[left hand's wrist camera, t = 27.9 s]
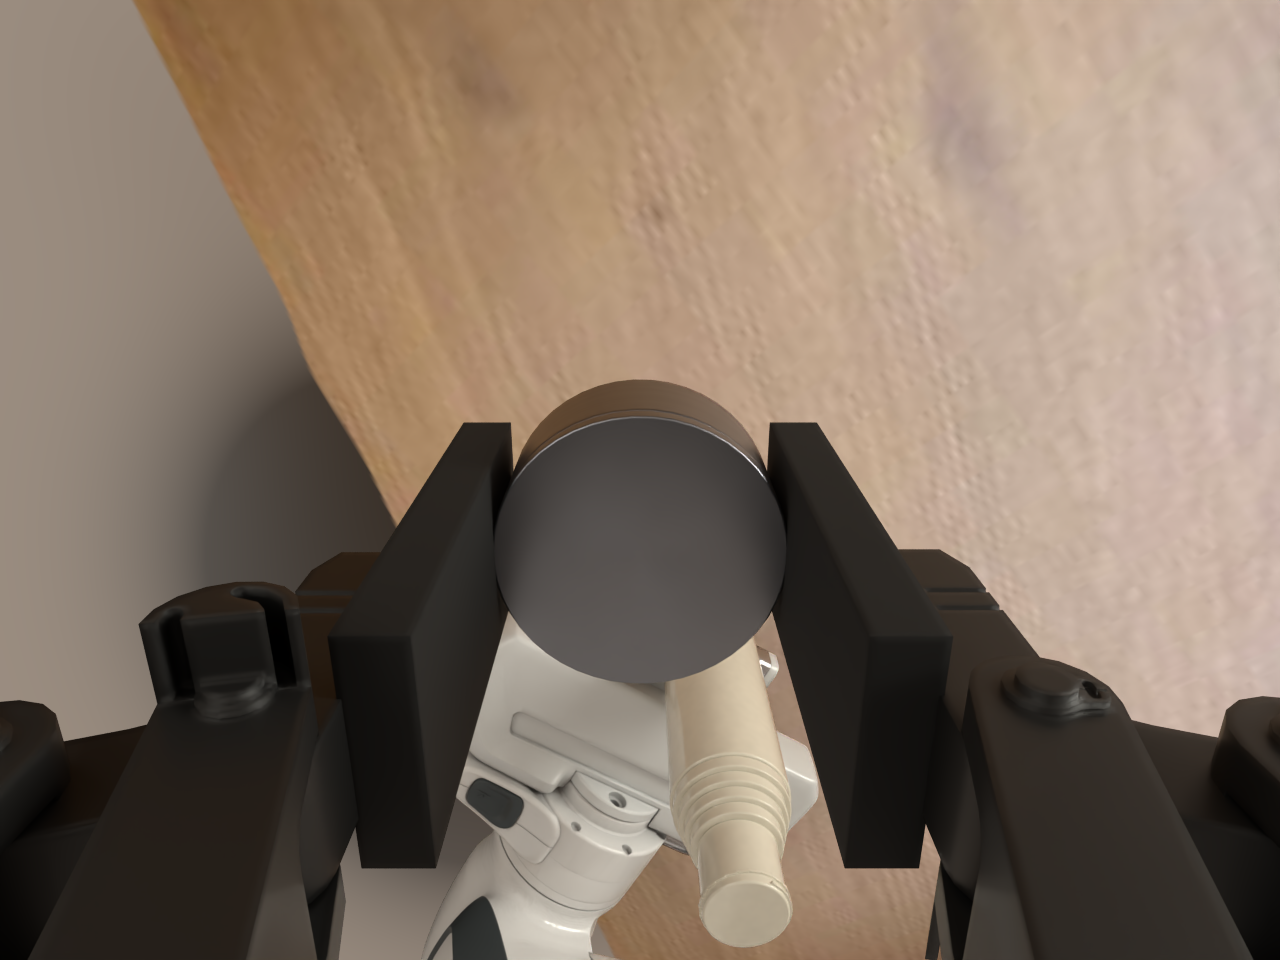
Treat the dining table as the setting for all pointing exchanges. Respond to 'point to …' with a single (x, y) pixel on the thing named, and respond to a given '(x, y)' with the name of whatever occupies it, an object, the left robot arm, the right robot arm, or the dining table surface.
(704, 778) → the bottle
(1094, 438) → the dining table surface
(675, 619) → the cap
